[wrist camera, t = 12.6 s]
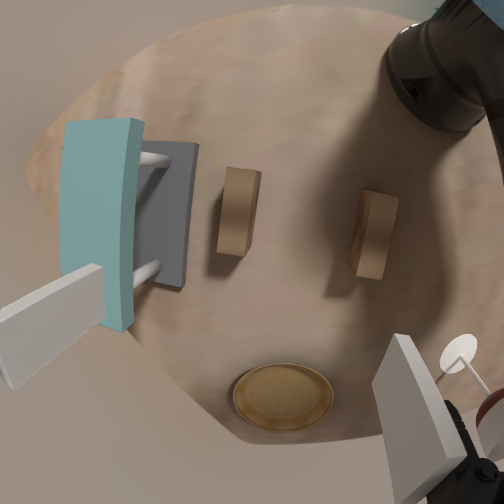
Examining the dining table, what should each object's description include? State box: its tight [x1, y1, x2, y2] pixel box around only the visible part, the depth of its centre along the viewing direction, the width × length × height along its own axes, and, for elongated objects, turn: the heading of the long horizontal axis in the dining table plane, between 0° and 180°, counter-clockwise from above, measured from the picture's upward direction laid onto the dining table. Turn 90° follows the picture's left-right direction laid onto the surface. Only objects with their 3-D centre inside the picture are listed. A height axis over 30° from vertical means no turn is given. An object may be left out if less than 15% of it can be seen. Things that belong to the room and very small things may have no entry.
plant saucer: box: [233, 363, 334, 433], centre depth 39 cm, size 15×15×3 cm
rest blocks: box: [217, 167, 399, 280], centre depth 31 cm, size 9×18×5 cm, turn 82°
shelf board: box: [59, 118, 145, 333], centre depth 25 cm, size 20×8×2 cm, turn 172°
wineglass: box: [440, 334, 504, 462], centre depth 25 cm, size 8×9×20 cm
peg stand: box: [133, 141, 199, 289], centre depth 31 cm, size 18×12×10 cm, turn 172°
